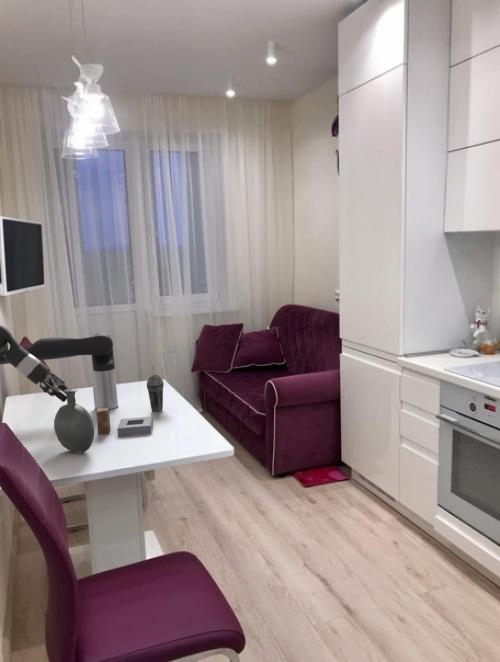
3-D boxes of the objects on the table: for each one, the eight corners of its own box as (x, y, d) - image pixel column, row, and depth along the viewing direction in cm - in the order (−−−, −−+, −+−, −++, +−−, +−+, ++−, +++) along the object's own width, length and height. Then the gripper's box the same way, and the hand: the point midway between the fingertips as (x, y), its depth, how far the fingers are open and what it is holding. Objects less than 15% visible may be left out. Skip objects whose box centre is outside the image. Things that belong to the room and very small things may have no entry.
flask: (88, 442, 188) (82, 382, 185) (99, 456, 174) (93, 391, 171) (54, 449, 183) (47, 387, 180) (63, 464, 168) (56, 397, 165)
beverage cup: (167, 408, 227) (164, 363, 224) (163, 413, 220) (159, 366, 217) (151, 408, 228) (147, 363, 225) (146, 413, 221) (142, 367, 218)
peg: (98, 434, 196) (96, 411, 195) (99, 431, 200) (97, 408, 199) (109, 434, 196) (107, 410, 195) (110, 430, 200) (108, 407, 199)
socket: (117, 436, 193) (117, 428, 193) (121, 426, 205) (121, 418, 204) (151, 433, 194) (150, 425, 194) (152, 423, 206) (152, 416, 206)
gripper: (31, 372, 199) (66, 399, 202) (20, 380, 185) (57, 409, 188) (45, 357, 199) (79, 385, 202) (34, 364, 185) (71, 394, 188)
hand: (68, 397), depth 195 cm, fingers open, 8 cm apart
